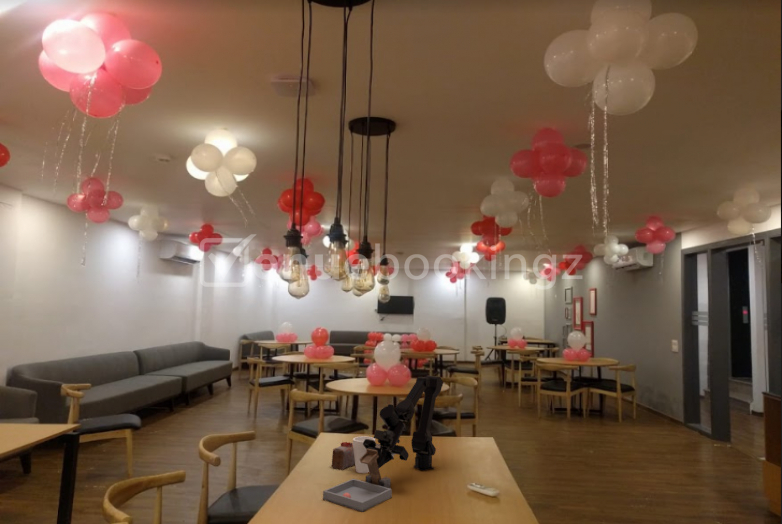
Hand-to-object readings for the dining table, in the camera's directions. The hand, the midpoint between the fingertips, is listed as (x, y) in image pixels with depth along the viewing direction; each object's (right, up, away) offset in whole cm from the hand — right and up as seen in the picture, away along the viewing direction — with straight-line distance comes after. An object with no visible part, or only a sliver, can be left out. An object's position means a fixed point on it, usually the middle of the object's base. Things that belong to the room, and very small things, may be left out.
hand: (375, 469), depth 200 cm
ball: (-10, -4, -14) cm, 18 cm away
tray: (-6, -7, -9) cm, 13 cm away
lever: (0, -7, 0) cm, 7 cm away
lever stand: (+1, -8, +1) cm, 8 cm away
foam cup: (-6, -10, +22) cm, 25 cm away
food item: (-14, -10, +29) cm, 34 cm away
